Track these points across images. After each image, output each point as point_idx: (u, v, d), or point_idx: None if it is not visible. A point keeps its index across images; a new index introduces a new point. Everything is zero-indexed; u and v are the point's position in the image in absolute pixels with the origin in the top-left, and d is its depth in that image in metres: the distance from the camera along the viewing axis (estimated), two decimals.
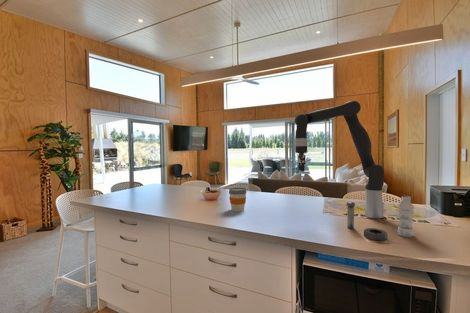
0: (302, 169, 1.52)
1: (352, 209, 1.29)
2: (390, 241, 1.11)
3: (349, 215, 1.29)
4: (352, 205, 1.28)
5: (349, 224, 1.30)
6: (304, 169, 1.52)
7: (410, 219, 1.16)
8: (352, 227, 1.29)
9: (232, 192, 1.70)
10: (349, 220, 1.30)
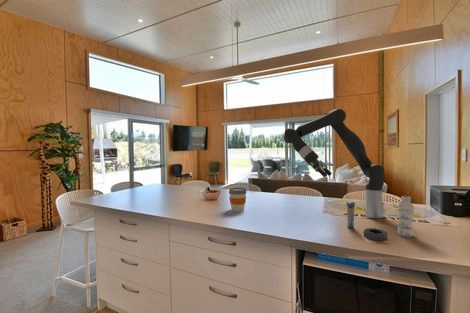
0: (323, 175, 1.33)
1: (352, 209, 1.29)
2: (390, 241, 1.11)
3: (349, 215, 1.29)
4: (352, 205, 1.28)
5: (349, 224, 1.30)
6: (325, 173, 1.33)
7: (410, 219, 1.16)
8: (352, 227, 1.29)
9: (232, 192, 1.70)
10: (349, 220, 1.30)
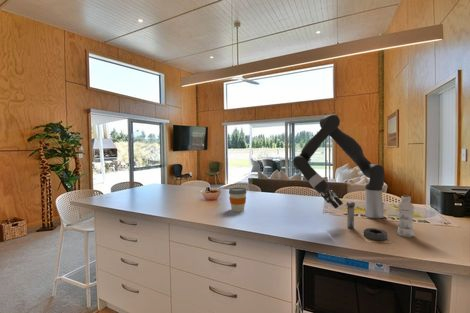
0: (334, 206, 1.30)
1: (352, 209, 1.29)
2: (390, 241, 1.11)
3: (349, 215, 1.29)
4: (352, 205, 1.28)
5: (349, 224, 1.30)
6: (336, 204, 1.30)
7: (410, 219, 1.16)
8: (352, 227, 1.29)
9: (232, 192, 1.70)
10: (349, 220, 1.30)
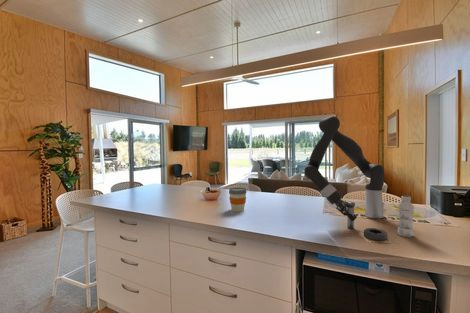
0: (351, 219, 1.28)
1: (352, 209, 1.29)
2: (390, 241, 1.11)
3: None
4: (352, 205, 1.28)
5: (349, 224, 1.30)
6: (353, 217, 1.28)
7: (410, 219, 1.16)
8: (352, 227, 1.29)
9: (232, 192, 1.70)
10: (349, 220, 1.30)
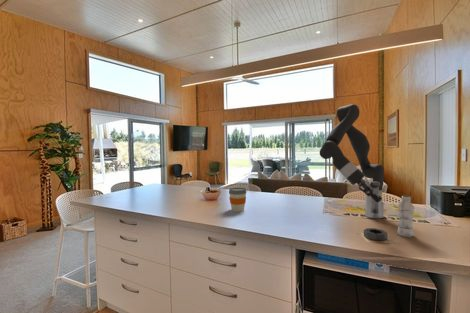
0: (376, 200, 1.13)
1: (377, 189, 1.14)
2: (390, 241, 1.11)
3: None
4: (377, 184, 1.14)
5: (373, 206, 1.15)
6: (379, 198, 1.13)
7: (410, 219, 1.16)
8: (377, 209, 1.15)
9: (232, 192, 1.70)
10: (373, 202, 1.15)
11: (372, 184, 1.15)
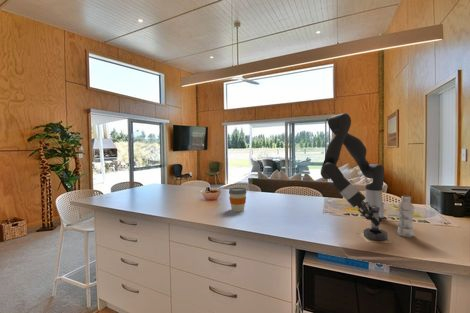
0: (375, 223, 1.12)
1: (377, 214, 1.14)
2: (390, 241, 1.11)
3: None
4: (377, 210, 1.14)
5: (373, 231, 1.15)
6: (378, 221, 1.12)
7: (410, 219, 1.16)
8: None
9: (232, 192, 1.70)
10: (373, 227, 1.15)
11: (372, 209, 1.15)
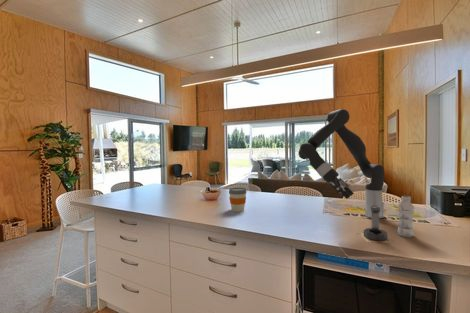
0: (345, 196, 1.20)
1: (377, 214, 1.14)
2: (390, 241, 1.11)
3: (374, 221, 1.15)
4: (377, 210, 1.14)
5: (374, 231, 1.15)
6: (348, 194, 1.20)
7: (410, 219, 1.16)
8: None
9: (232, 192, 1.70)
10: (374, 227, 1.15)
11: (373, 209, 1.15)
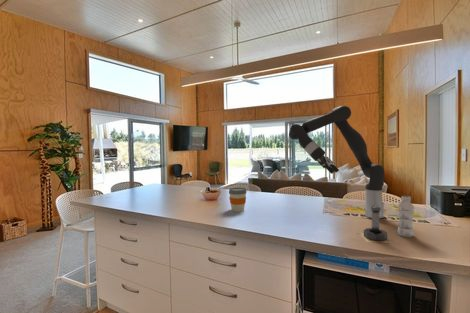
0: (330, 171, 1.30)
1: (377, 214, 1.14)
2: (390, 241, 1.11)
3: (374, 221, 1.15)
4: (378, 210, 1.14)
5: (374, 231, 1.15)
6: (332, 169, 1.30)
7: (410, 219, 1.16)
8: None
9: (232, 192, 1.70)
10: (374, 227, 1.15)
11: (373, 209, 1.15)
